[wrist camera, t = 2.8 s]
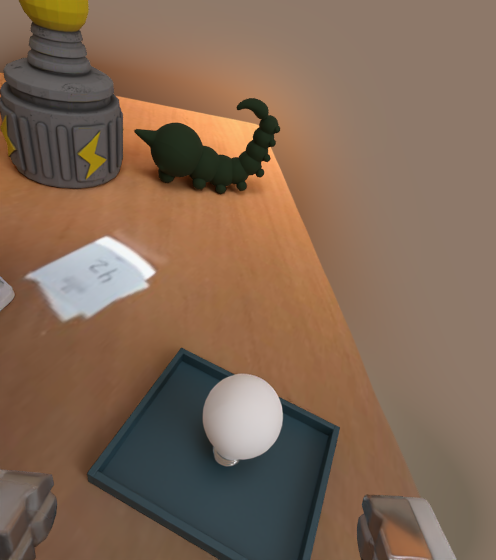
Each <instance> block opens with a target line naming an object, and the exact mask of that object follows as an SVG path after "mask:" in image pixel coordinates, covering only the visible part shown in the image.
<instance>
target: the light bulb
mask: <svg viewBox="0 0 496 560" xmlns="http://www.w3.org/2000/svg"><path fill="white" fill-rule="evenodd" d="M282 421H283V412H282V405H281V402H280V399H279V397H278V395H277V394H276V392H275V390H274V389H273V388H272V387H271V386H270V385H269V384H268V383H267V382H266V381H264V380H263V379H261V378H259V377H257V376H254V375H250V374H236V375H233V376H229V377H227V378H225V379H223V380H222V381H220V382H219V383H218V384H217V385H215V386H214V388H213V389H212V390H211V391H210V393H209V395H208V397H207V399H206V401H205V404H204V408H203V426H204V429H205V432H206V435H207V437H208V439H209V441H210V442H211V444H212V445H213V454H214V458H215V461H216V462H217V463H219V464H220V465H222V466H225V467H230V466H234V465H236V464H238V462H239V461H240V460H241V459H243V460H244V459H251V458H254V457H256V456H259V455H261V454H263V453H264V452H266V451H267V450H268V449H269V448H270V447H271V446H272V445H273V444H274V443H275V441H276V439H277V438H278V436H279V433H280V430H281V427H282Z"/></svg>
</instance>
